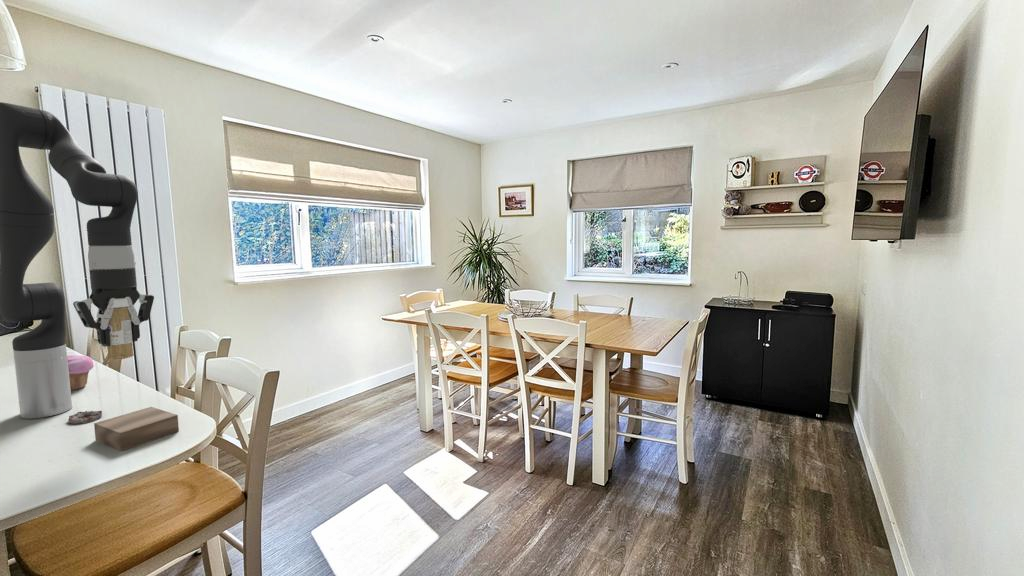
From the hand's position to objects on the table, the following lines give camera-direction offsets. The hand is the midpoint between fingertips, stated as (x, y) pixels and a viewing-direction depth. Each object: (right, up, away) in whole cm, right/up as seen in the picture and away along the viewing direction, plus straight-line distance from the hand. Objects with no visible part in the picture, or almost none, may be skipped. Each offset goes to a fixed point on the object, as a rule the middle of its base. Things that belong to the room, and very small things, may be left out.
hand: (119, 343), depth 99 cm
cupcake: (-43, -18, +34) cm, 57 cm away
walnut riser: (+1, -22, +3) cm, 22 cm away
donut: (-19, -21, +12) cm, 31 cm away
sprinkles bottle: (0, -4, 0) cm, 3 cm away
